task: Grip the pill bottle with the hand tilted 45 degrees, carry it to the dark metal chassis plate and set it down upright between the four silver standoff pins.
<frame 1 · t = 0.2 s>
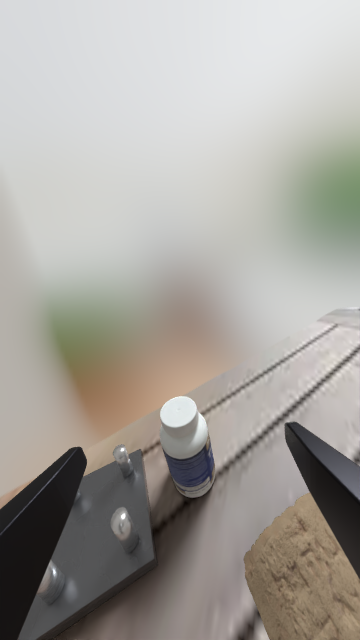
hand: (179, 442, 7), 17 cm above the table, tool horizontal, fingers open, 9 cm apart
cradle: (102, 523, 18), on the table
pill bottle: (194, 471, 21), on the table
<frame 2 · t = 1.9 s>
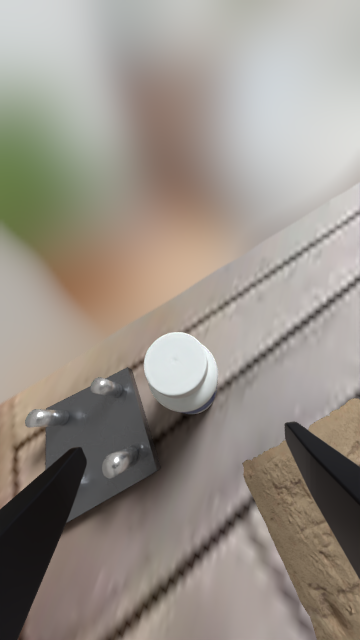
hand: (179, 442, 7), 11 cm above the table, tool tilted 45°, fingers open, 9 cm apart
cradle: (101, 434, 18), on the table
clay tablet: (340, 496, 13), on the table
pill bottle: (192, 386, 19), on the table
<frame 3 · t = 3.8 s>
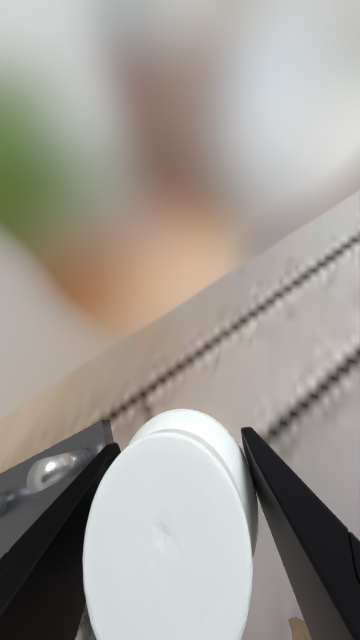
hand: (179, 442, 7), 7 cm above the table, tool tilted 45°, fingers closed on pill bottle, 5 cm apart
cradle: (55, 534, 11), on the table
pill bottle: (197, 453, 12), on the table, touching gripper
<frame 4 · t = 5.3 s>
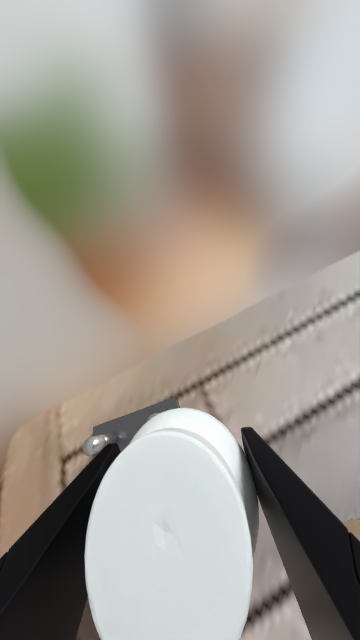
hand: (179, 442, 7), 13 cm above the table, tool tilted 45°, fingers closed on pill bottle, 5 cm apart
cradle: (146, 463, 18), on the table
pill bottle: (198, 452, 12), point 6 cm above the table, touching gripper
when the fingers open (9 cm above the table, at t = 7.2 s): pill bottle drops 1 cm, resting on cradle.
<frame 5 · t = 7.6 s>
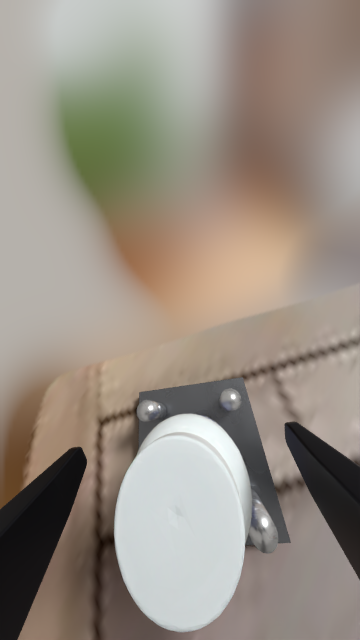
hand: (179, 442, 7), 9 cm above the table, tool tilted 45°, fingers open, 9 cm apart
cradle: (199, 448, 14), on the table
pill bottle: (199, 452, 13), point 1 cm above the table, touching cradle
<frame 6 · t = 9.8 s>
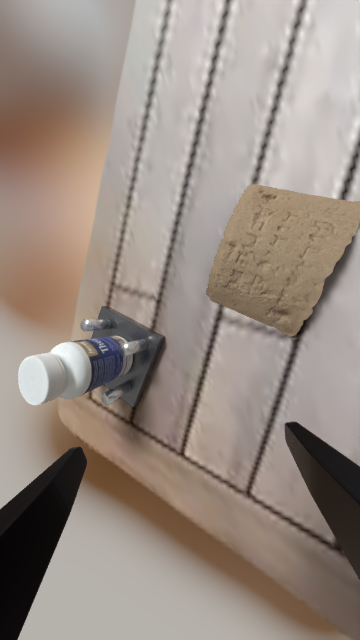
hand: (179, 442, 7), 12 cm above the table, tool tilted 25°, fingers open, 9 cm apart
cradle: (122, 352, 24), on the table
clay tablet: (270, 259, 18), on the table
pill bottle: (118, 354, 23), point 1 cm above the table, touching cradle
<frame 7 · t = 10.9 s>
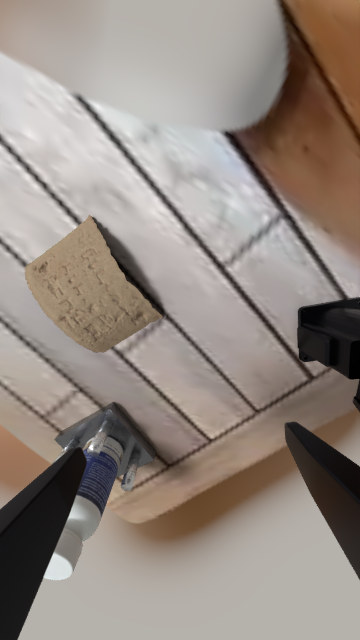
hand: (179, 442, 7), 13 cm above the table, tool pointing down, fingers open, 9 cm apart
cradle: (108, 441, 24), on the table
clay tablet: (98, 292, 20), on the table
pill bottle: (105, 447, 23), point 1 cm above the table, touching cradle
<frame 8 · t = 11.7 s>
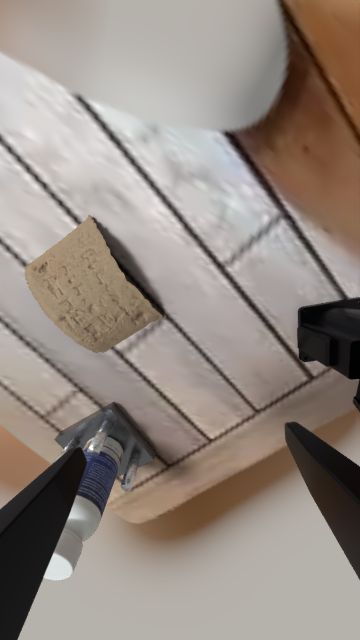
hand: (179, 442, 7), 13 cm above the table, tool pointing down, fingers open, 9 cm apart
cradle: (108, 441, 24), on the table
clay tablet: (98, 292, 20), on the table
pill bottle: (105, 447, 23), point 1 cm above the table, touching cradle
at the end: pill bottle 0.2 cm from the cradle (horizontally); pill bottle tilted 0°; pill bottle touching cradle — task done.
